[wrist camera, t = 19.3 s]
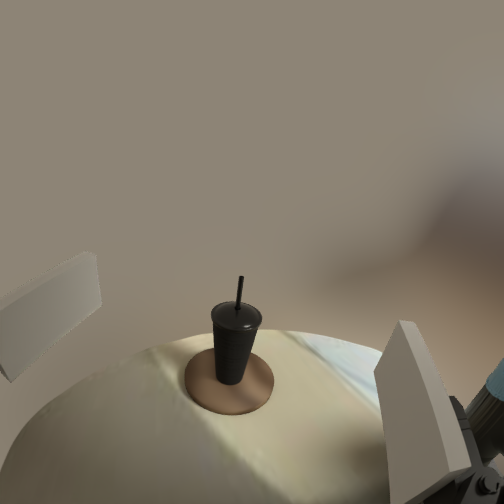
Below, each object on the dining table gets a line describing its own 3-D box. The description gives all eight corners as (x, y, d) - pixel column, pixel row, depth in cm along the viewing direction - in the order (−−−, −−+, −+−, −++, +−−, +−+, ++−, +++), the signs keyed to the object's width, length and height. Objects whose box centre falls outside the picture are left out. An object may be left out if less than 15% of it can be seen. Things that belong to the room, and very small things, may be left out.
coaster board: (243, 344, 56) (243, 339, 55) (290, 394, 44) (292, 389, 43) (172, 363, 47) (171, 358, 46) (210, 428, 35) (210, 423, 34)
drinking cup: (220, 397, 40) (230, 294, 33) (200, 367, 46) (205, 268, 39) (258, 383, 44) (279, 285, 37) (237, 357, 50) (250, 262, 43)
